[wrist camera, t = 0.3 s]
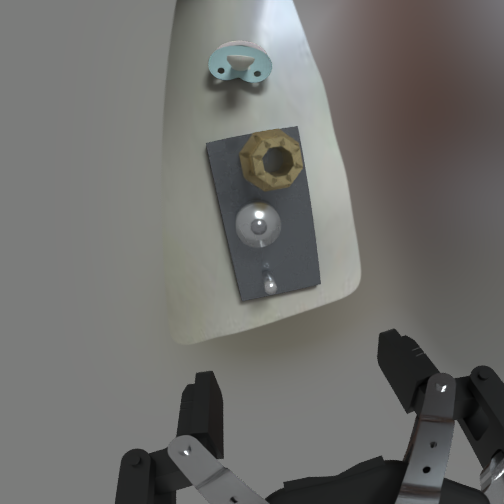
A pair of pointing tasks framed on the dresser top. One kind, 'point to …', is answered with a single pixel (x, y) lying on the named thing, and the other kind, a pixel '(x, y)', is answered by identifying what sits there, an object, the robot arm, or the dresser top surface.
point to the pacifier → (240, 61)
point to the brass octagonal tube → (254, 163)
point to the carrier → (265, 222)
